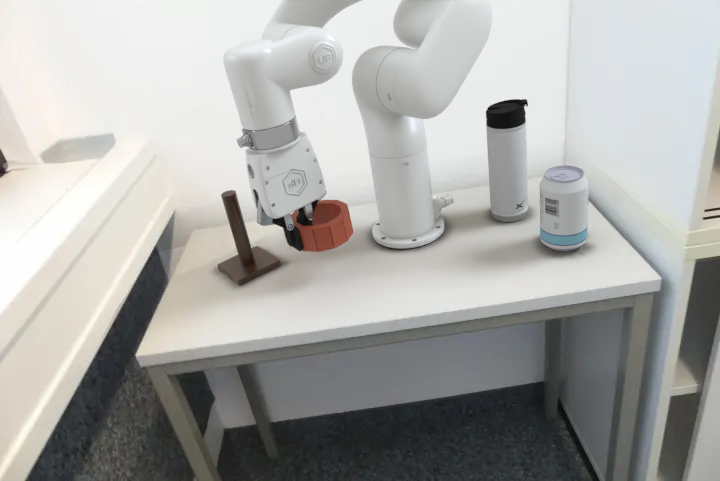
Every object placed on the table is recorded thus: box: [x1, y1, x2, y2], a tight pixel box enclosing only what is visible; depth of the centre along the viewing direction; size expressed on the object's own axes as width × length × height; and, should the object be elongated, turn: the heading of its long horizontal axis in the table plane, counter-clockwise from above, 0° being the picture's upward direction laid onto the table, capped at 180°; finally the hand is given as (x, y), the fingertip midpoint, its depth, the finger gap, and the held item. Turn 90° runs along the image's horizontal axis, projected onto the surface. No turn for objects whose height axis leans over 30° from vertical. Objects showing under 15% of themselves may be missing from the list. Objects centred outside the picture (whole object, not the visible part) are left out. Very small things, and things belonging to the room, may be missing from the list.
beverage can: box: [539, 164, 590, 252], centre depth 91 cm, size 7×7×12 cm
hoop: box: [290, 199, 354, 253], centre depth 94 cm, size 9×9×4 cm
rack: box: [217, 189, 282, 286], centre depth 99 cm, size 8×8×14 cm
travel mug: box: [485, 98, 529, 223], centre depth 100 cm, size 6×7×20 cm
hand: (302, 244), depth 93 cm, fingers closed on hoop, 1 cm apart
